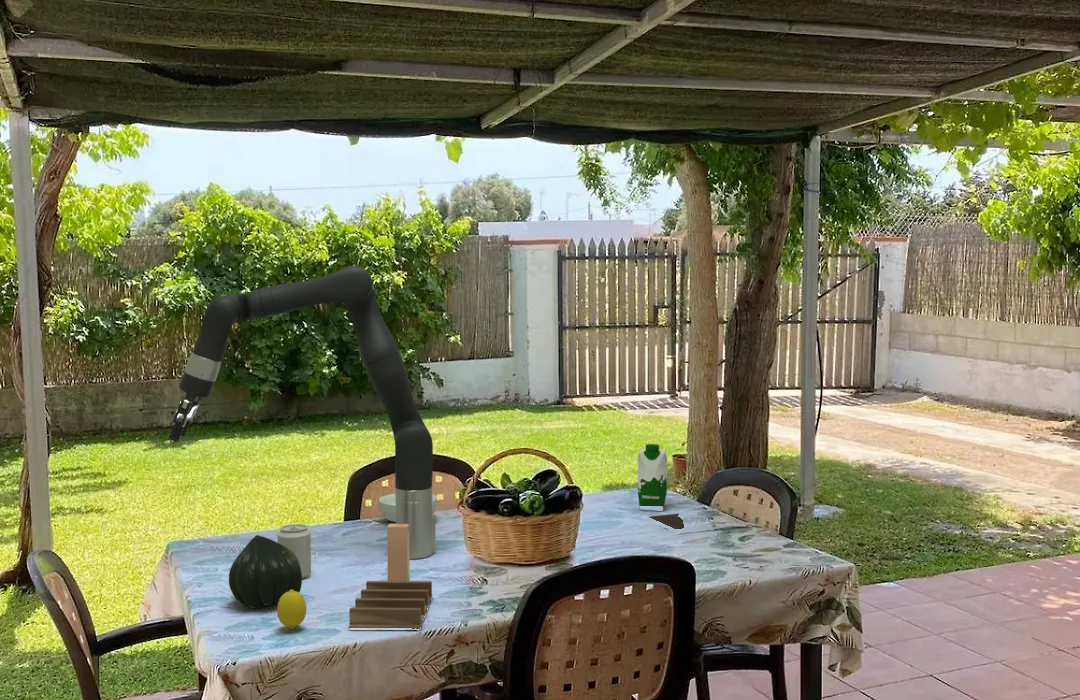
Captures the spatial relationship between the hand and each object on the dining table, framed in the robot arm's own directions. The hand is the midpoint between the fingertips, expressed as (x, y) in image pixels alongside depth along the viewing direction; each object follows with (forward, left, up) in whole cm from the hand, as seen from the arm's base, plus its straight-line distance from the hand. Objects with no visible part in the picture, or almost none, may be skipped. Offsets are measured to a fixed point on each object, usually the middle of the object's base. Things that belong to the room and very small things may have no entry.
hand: (176, 437), depth 232 cm
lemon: (+8, +58, -32) cm, 67 cm away
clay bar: (-24, +53, -31) cm, 66 cm away
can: (-13, +29, -32) cm, 45 cm away
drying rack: (-11, +66, -31) cm, 74 cm away
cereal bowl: (-66, +9, -32) cm, 73 cm away
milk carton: (-126, +53, -32) cm, 140 cm away
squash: (+2, +40, -32) cm, 51 cm away
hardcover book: (-118, +74, -32) cm, 143 cm away
